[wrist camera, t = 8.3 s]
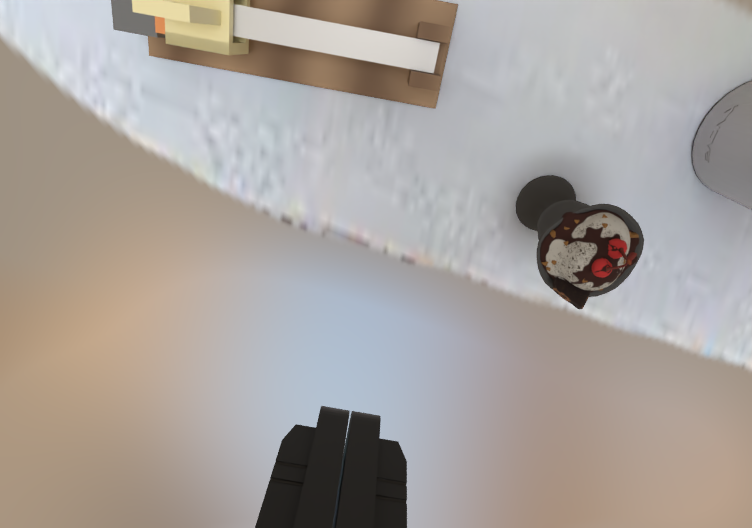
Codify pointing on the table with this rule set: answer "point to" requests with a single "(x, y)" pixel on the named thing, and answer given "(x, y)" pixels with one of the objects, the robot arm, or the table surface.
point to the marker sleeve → (198, 23)
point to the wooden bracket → (347, 7)
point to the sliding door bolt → (301, 35)
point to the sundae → (578, 240)
